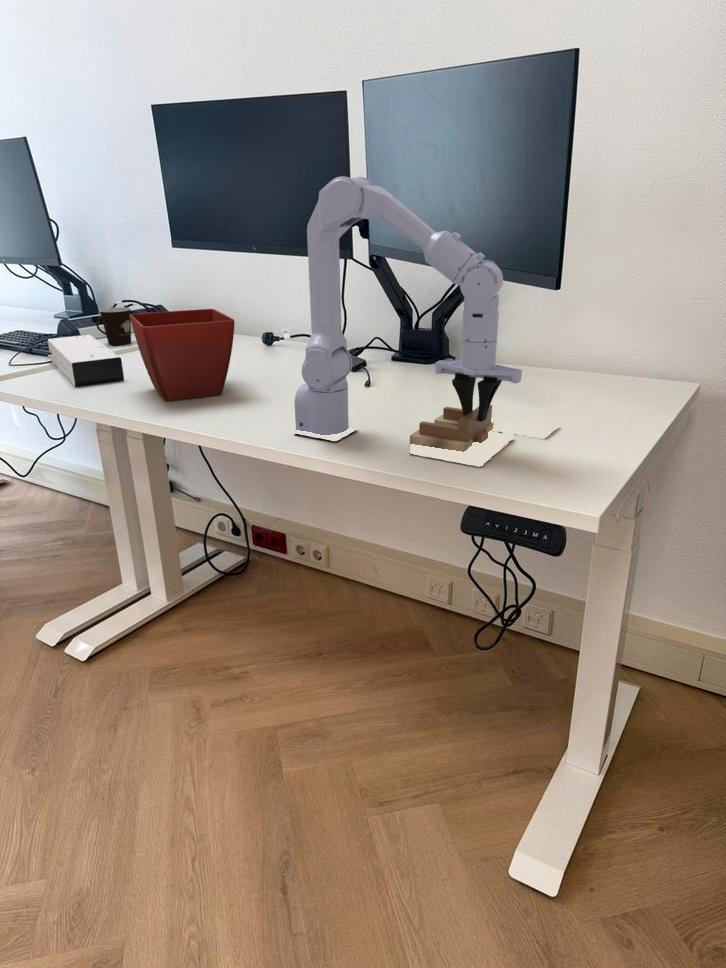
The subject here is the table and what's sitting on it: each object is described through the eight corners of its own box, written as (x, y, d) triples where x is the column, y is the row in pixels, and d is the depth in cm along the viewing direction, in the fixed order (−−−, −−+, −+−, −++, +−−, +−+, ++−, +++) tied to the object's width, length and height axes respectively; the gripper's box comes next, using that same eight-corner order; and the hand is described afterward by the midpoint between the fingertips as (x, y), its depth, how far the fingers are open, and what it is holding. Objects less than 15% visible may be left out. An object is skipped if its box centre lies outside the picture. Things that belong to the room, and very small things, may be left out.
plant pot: (219, 377, 171) (213, 307, 164) (241, 397, 155) (235, 319, 149) (138, 387, 164) (128, 313, 157) (153, 408, 148) (142, 327, 141)
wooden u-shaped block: (406, 454, 120) (406, 437, 119) (444, 428, 133) (445, 413, 132) (480, 467, 114) (481, 450, 113) (513, 439, 127) (514, 423, 126)
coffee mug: (128, 339, 216) (123, 306, 212) (139, 344, 210) (135, 309, 206) (90, 345, 209) (84, 310, 205) (101, 349, 203) (95, 314, 199)
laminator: (124, 382, 169) (121, 357, 167) (71, 390, 163) (66, 363, 161) (94, 356, 196) (90, 334, 194) (46, 362, 190) (42, 339, 188)
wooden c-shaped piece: (419, 434, 121) (419, 414, 119) (445, 417, 130) (446, 398, 128) (467, 442, 117) (468, 422, 115) (491, 424, 126) (492, 405, 124)
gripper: (428, 339, 115) (426, 419, 121) (514, 348, 109) (507, 431, 114) (446, 332, 121) (443, 408, 126) (528, 340, 114) (521, 420, 120)
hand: (474, 418), depth 120 cm, fingers closed
